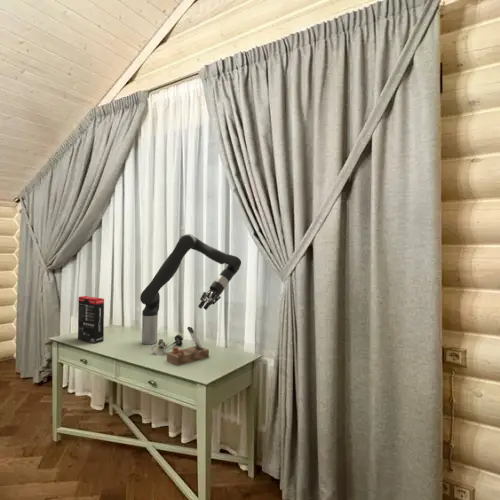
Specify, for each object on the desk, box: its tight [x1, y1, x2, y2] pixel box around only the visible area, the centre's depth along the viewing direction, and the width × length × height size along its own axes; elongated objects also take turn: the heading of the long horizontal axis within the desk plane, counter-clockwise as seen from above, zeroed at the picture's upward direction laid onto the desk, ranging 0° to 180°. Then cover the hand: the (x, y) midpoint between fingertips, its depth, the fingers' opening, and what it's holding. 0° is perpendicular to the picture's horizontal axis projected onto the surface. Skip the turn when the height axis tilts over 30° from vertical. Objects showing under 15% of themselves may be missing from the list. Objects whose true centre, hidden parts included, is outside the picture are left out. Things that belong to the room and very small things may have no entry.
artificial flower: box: [150, 334, 184, 356], centre depth 194 cm, size 9×22×10 cm, turn 150°
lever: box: [187, 326, 203, 349], centre depth 182 cm, size 14×3×1 cm
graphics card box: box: [77, 295, 105, 344], centre depth 210 cm, size 17×7×27 cm, turn 63°
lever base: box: [166, 345, 210, 366], centre depth 179 cm, size 20×10×7 cm, turn 135°
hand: (202, 308), depth 185 cm, fingers open, 4 cm apart
